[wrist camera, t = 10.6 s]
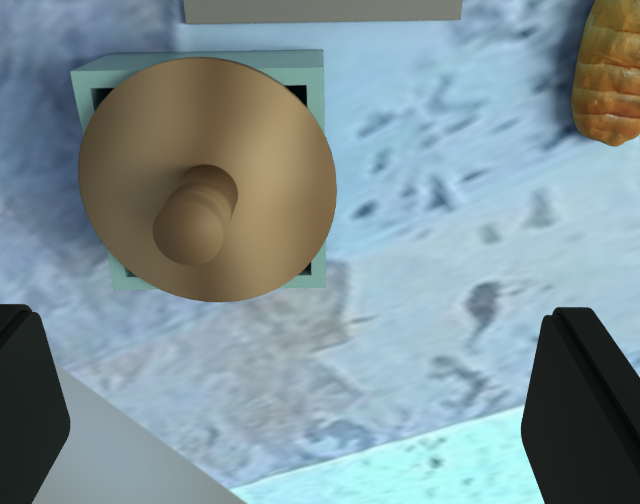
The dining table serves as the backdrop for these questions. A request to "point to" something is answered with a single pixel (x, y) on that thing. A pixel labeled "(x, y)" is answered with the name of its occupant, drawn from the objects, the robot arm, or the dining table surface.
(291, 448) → the dining table surface
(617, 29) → the pastry
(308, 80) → the green square box
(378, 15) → the mat
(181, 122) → the lid
